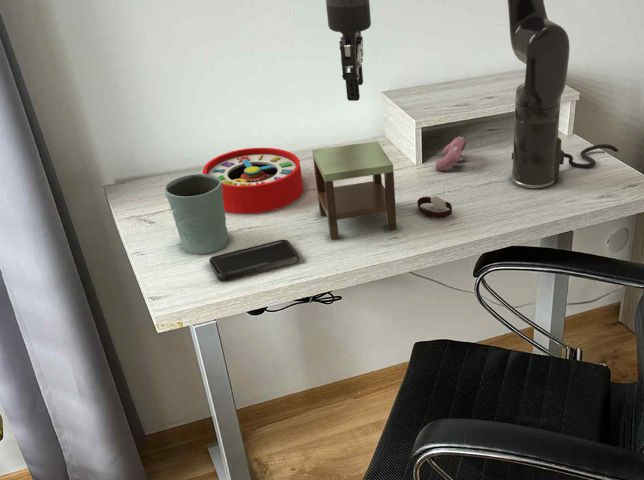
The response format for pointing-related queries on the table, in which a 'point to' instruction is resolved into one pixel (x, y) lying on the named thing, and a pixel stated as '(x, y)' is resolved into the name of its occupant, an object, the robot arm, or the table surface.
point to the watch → (438, 203)
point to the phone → (253, 260)
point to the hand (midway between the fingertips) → (355, 92)
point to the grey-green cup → (198, 212)
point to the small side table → (355, 196)
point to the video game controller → (451, 154)
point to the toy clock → (257, 179)
